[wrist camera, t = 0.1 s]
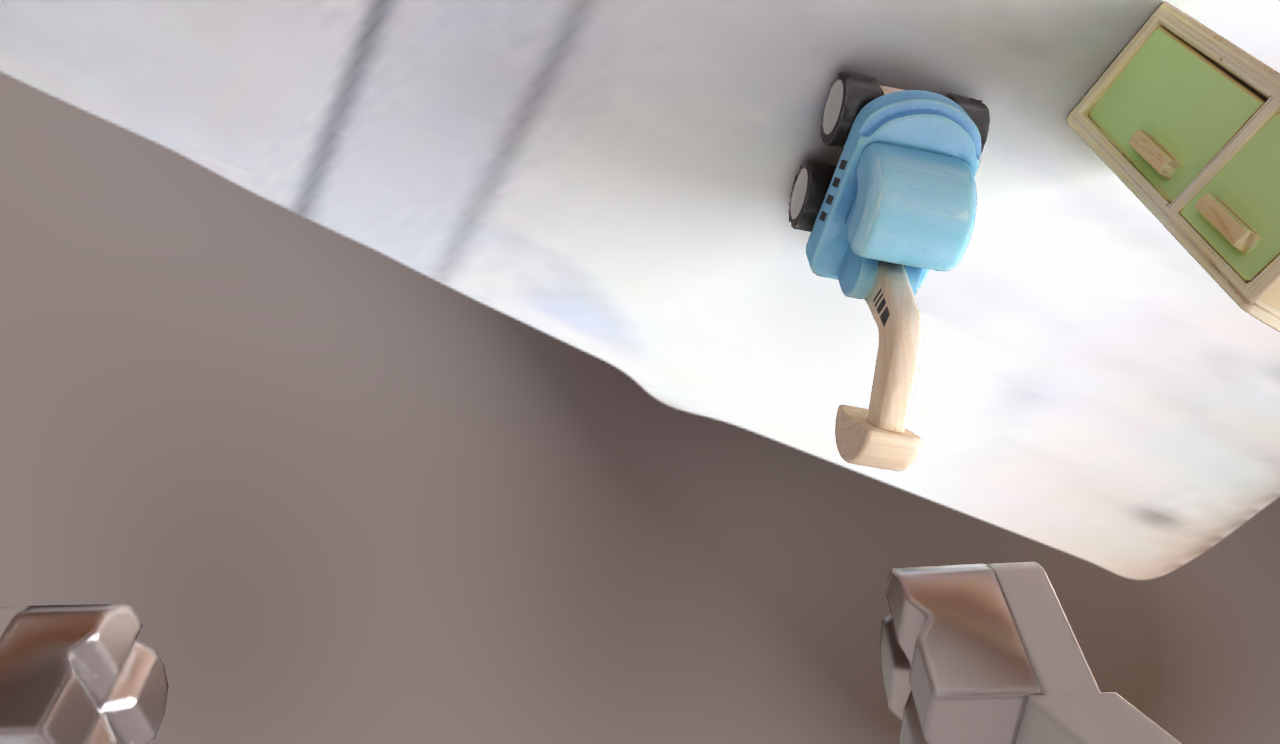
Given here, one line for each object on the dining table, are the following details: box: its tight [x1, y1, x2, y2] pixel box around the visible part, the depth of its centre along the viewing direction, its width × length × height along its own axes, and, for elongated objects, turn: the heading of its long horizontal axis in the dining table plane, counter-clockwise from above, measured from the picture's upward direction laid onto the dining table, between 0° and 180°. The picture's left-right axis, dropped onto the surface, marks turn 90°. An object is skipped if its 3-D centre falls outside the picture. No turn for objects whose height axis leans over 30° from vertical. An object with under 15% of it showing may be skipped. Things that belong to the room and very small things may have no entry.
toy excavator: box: [789, 72, 990, 471], centre depth 54 cm, size 9×17×17 cm, turn 167°
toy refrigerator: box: [1067, 2, 1280, 332], centre depth 48 cm, size 8×7×21 cm
